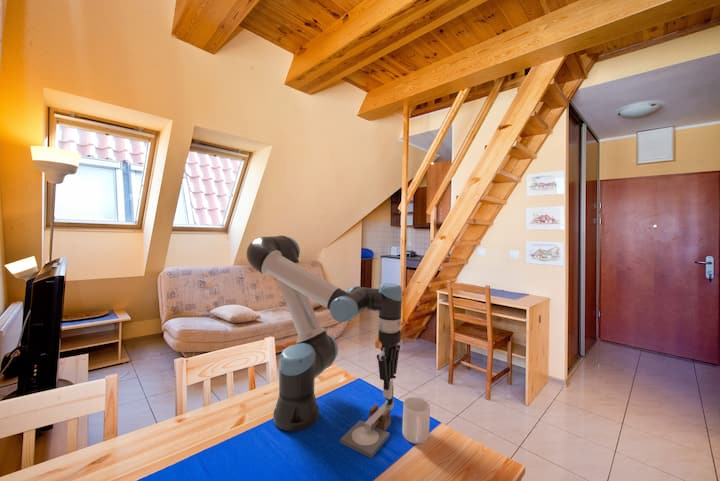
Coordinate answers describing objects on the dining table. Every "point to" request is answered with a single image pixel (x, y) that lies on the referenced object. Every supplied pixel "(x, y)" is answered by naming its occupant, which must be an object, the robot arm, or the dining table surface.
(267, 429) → the dining table surface
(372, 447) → the dock pad
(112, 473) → the dining table surface
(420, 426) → the mug
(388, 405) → the crank handle
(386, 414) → the mount
